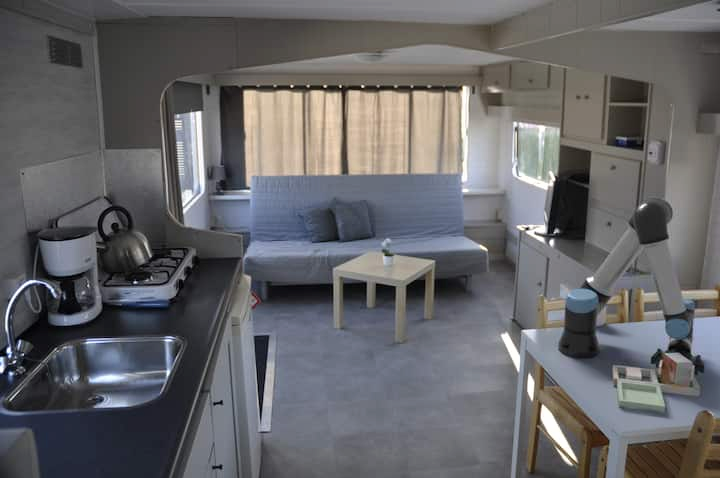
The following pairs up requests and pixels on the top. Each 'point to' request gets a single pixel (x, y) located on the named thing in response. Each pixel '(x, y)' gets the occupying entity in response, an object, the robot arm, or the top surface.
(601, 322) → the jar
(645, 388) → the tray
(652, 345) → the top surface
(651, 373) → the beige divided frame
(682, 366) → the small box
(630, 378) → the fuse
